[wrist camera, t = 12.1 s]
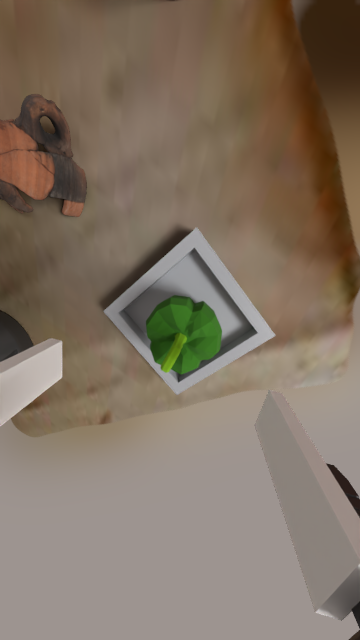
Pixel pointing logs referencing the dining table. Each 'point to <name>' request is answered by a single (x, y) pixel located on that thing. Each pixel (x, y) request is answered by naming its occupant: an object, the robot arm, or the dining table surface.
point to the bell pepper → (183, 334)
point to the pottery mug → (39, 159)
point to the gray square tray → (200, 285)
